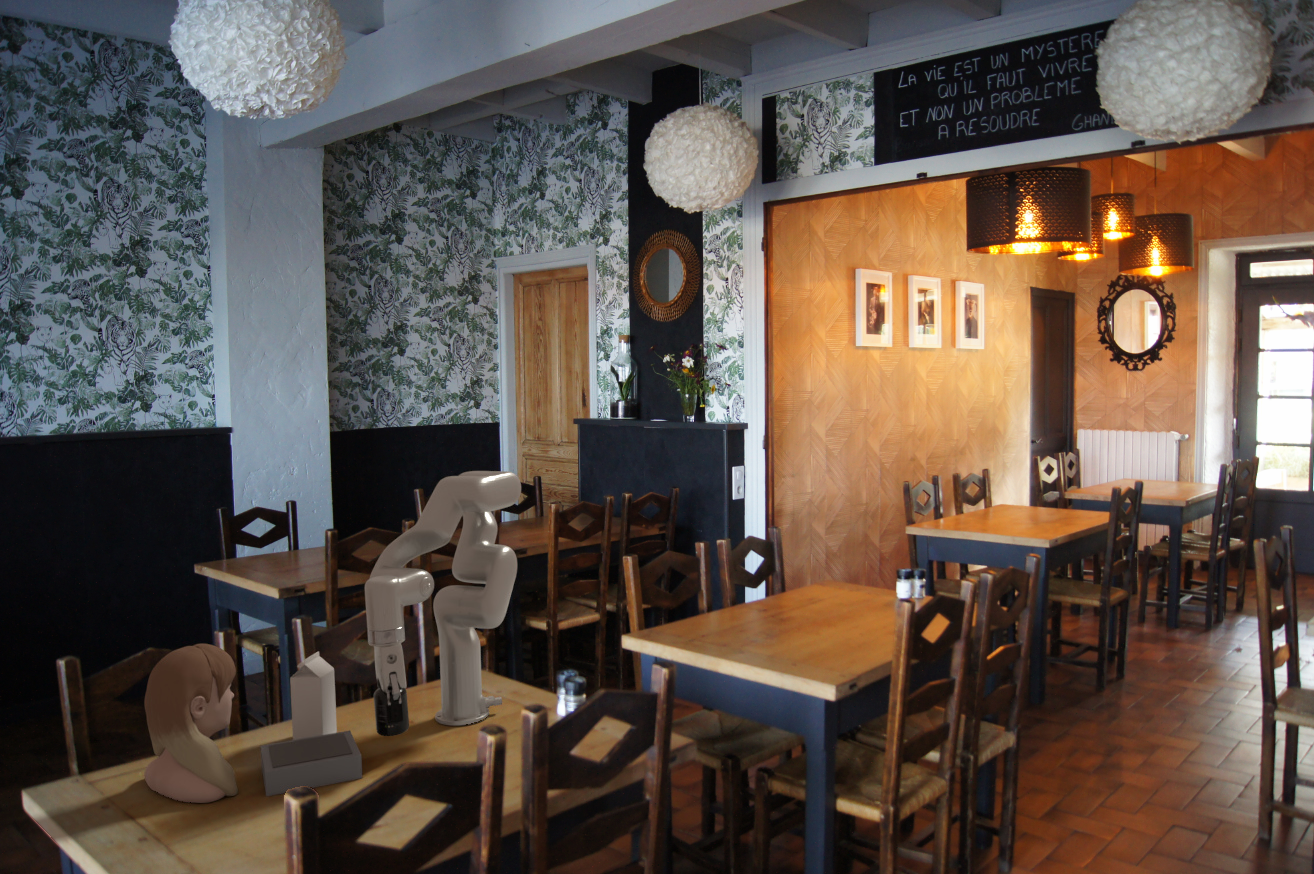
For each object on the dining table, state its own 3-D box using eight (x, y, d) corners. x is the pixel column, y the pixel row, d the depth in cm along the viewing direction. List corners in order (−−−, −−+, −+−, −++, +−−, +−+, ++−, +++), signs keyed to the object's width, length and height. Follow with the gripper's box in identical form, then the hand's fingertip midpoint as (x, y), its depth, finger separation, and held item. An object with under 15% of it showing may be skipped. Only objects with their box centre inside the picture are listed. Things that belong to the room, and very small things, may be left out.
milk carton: (337, 732, 220) (333, 651, 219) (323, 744, 213) (319, 659, 212) (307, 732, 221) (303, 651, 220) (292, 743, 213) (289, 659, 213)
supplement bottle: (379, 725, 207) (376, 671, 206) (411, 723, 208) (408, 669, 207) (373, 738, 200) (369, 682, 199) (406, 735, 201) (402, 680, 200)
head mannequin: (274, 780, 192) (263, 644, 190) (192, 815, 178) (178, 668, 176) (208, 756, 206) (197, 629, 204) (127, 787, 193) (114, 651, 191)
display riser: (350, 751, 207) (349, 729, 207) (362, 777, 193) (361, 753, 193) (261, 767, 200) (260, 744, 200) (266, 796, 185) (265, 770, 185)
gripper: (412, 642, 196) (418, 726, 198) (396, 622, 212) (401, 700, 213) (375, 648, 193) (380, 733, 194) (361, 627, 208) (367, 707, 210)
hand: (391, 715), depth 204 cm, fingers closed on supplement bottle, 6 cm apart
